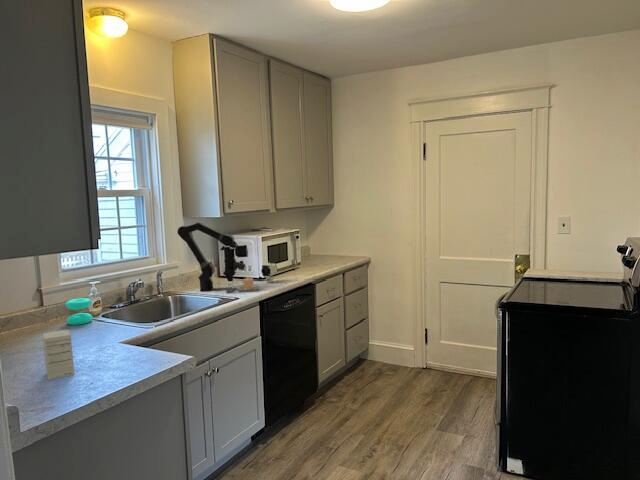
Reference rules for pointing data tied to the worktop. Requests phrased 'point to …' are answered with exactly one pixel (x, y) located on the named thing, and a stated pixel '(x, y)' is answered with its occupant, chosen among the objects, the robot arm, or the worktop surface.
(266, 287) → the worktop surface
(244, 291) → the plate
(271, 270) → the pneumatic valve
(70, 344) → the supplement box
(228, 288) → the ram rail
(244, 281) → the block
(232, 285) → the block
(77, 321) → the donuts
